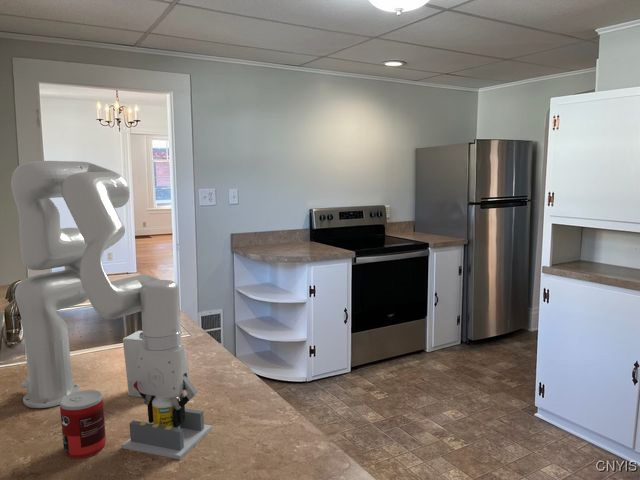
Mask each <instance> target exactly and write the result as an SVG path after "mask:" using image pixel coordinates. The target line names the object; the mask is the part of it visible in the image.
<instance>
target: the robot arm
mask: <svg viewBox="0 0 640 480" xmlns="http://www.w3.org/2000/svg"><path fill="white" fill-rule="evenodd" d="M10 182H11V184H10V185H11V186H10V187H11V192H12V196H13V199H14V202H15V205H16V208H17V213H18V226H19V244H20V257H21V262H22V263H23V265H24V267H25V268H26V269H28V270H30V271H45V270H50V269H57V268H62V267H64V270H63V269H62V270H58V271H52V272H46V273H41V274H36V275H33V276H29V277H27V278H24V279H23V280H21V281H20V282H19V283H18V284H17V286H16V287H15V290H14V297H15V302H16V305H17V308H18V311H19V314H20V318H21V323H22V329H23V331H22V332H23V337H24V338H23V339H24V345H25V347H24V349H25V356H26V369H27V376H26V377H25V378H24V381H22V382H21V383H20V387H21V388H24V389H26V392H27V393H26V394H24V396H23V398H22V401H23V405H24V406H25V407H27V408H30V409H31V408H32V409H47V408H51V407H52V408H53V407H56V406H60V401H61V399H62V398H64V397H65V396H67V395H69V394H71V393H74V392H78V391H81V389H80V385H79V384H77V383H74V382H73V376H72V375H73V373H72V363H71V362H72V361H71V351H70V342H69V341H70V340H69V329H68V325H67V323H66V322H65V320H64V319H63V318H62V317H61V316H60V315H59V314H58V313H57V311H60V310H63V309H67V308H70V307H71V308H72V307H73V306H74V307H75V306H78V305H81V304H84V303H85V302H87V301H89V302H90V304H91V306H92V307H93V309H94V310H95V312H96V313H97V314H98V316H99V317H102V318H104V319H106V320H116V319H120V318H122V317H126V316H128V315H132V314H135V313H139V312H141V331H143V332H141V333H140V335H139V338H140V339H143V346H141V347H140V351H139V357H138V368H137V381H136V382H135V383H134V388H135V389H136V390H137V391H138V392H140V395H141V396H142V397H143V398H142V397H141V398H142V399H143V400H144V402H143V403H144V404H145V405H146V406H147V416H148V423H153V422H154V421H153V407H152V401H153V399H154V398H155V397H156V396H158V397H165V398H172V401H173V404H174V406H175V408H174V409H173V426H174V427H175V428H177V427H178V426H179V425H181V424H182V423H183V422H184V420H185V406H186V405H187V403H189V402H190V401H191V400H192V399H193V398H194V397H196V395H197V394H198V393H199V392H198V390H197V389H196V388H195V386H194V385H193V383H192V382H191V381H190V370H189V363H188V357H187V353H186V349H185V345H183V344H182V329H181V328H182V327H181V313H180V312H181V311H180V309H181V308H180V291H179V290H180V288H179V286H178V284H177V282H175V281H173V280H170V279H160V278H158V277H156V276H153V275H150V274H140V275H135V276H131V277H125V278H121V279H115V280H113V281H110V279H109V277H108V276H107V273H106V270H105V269H104V265H103V254H104V252H105V251H106V250H108V249H109V248H110V247H113V246H114V245H115V244H116V243H117V244H118V242H119V241H121V240H122V238H123V237H124V236H125V232H126V228H125V226H124V224H123V222H122V220H121V218H120V216H119V214H118V213H117V210H116V209H118V208H122V207H123V206H125V205H127V203H128V202H129V199H130V193H131V192H130V188H129V185H128V183H127V181H126V179H125V178H124V177H123V176H122V175H121V174H120V173H118V172H117V171H114V170H111V169H108V168H106V167H103V166H100V165H98V164H95V163H92V162H87V161H78V160H76V161H71V160H68V161H66V160H64V161H63V160H34V161H27V162H24V163H22V164H20V165H18V166H16V168H15V169H14V171H13V173H12V175H11V181H10ZM55 198H56V199H57V198H62V199H63V200H64V203H65V204H66V207H67V208H68V210H69V213H70V215H71V217H72V218H73V221H74V223H75V224H76V227H64V228H61V217H60V216H61V215H60V212H59V209H58V207H57V205H55V203H54V201H53V200H51V199H55ZM185 392H186V394H185Z"/></svg>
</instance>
